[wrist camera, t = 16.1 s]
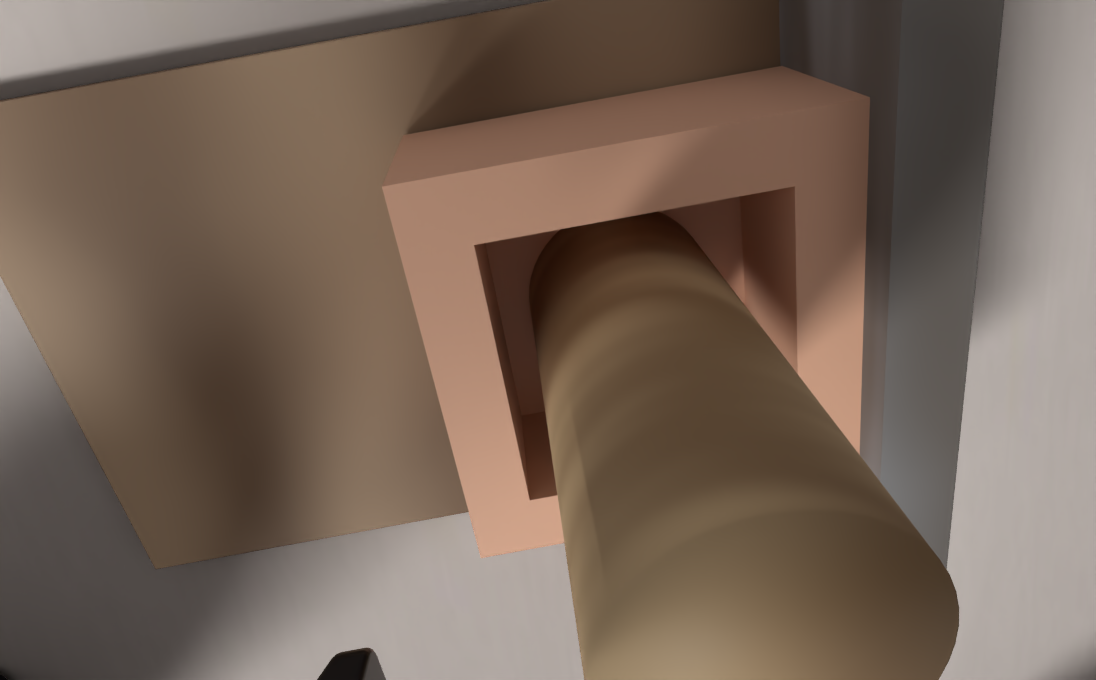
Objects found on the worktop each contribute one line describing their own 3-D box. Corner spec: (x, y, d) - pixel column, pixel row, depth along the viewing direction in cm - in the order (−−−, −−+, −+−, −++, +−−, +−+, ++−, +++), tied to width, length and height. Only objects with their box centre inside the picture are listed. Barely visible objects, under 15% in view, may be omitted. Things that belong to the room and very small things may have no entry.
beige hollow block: (162, 556, 21) (66, 738, 16) (-68, 112, 16) (-319, 184, 11) (881, 424, 21) (1004, 566, 16) (902, -65, 16) (1098, -76, 11)
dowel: (545, 385, 18) (610, 808, 9) (513, 224, 16) (557, 551, 7) (713, 354, 18) (945, 747, 9) (700, 189, 16) (975, 475, 7)
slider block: (480, 448, 20) (480, 557, 16) (403, 135, 16) (381, 186, 12) (789, 391, 20) (858, 489, 16) (781, 66, 16) (870, 97, 12)
